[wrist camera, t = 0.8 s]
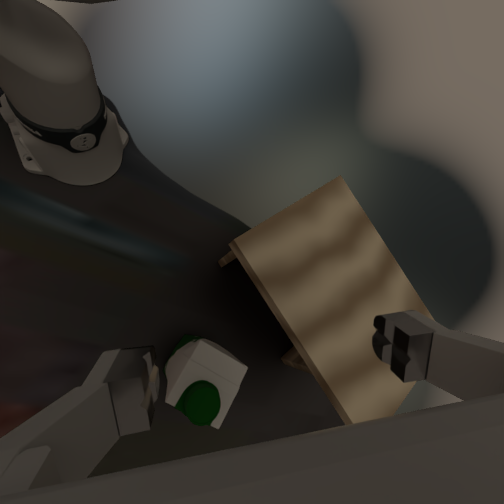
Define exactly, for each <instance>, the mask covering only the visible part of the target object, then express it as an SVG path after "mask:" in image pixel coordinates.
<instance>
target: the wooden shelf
mask: <svg viewBox="0 0 504 504" xmlns="http://www.w3.org/2000/svg"><path fill="white" fill-rule="evenodd" d="M228 245H229V246H230V248H231V249H232V250H231V251H230V252H229V253H228V254H226V255H225V256H224V257H223V258H221V259H220V260H219V261H218V263H219V264H220V266H221V267H223V266H225V265H226V264H228V263H229V262H231V261H232V260H234V259H235V258H238V260H239V261H240V263H241V265H242V266H243V268H244V269H245V271H246V272H247V274H248V275H249V277H250V278H251V280H252V281H253V283H254V285H255V286H256V288H257V289H258V291H259V292H260V294H261V295H262V297H263V298H264V300H265V301H266V303H267V305H268V306H269V308H270V309H271V311H272V312H273V314H274V315H275V317H276V318H277V320H278V321H279V323H280V325H281V326H282V328H283V329H284V331H285V332H286V334H287V335H288V337H289V338H290V340H291V341H292V343H293V345H294V346H293V347H292V348H291V349H290V350H289V351H288V352H287V353H285V354H284V355H283V356H282V357H281V360H282V361H283V363H284V364H286V365H288V366H291V367H294V368H297V369H299V370H302V371H305V372H308V373H310V374H313V375H314V377H315V378H316V380H317V381H318V383H319V385H320V386H321V388H322V389H323V391H324V392H325V394H326V395H327V397H328V398H329V400H330V401H331V403H332V404H333V406H334V408H335V409H336V411H337V412H338V414H339V415H340V417H341V418H342V420H343V421H344V423H345V424H346V425H349V424H354V423H359V422H363V421H368V420H373V419H378V418H383V417H388V416H393V415H394V413H395V412H396V410H397V409H398V407H399V406H400V404H401V403H402V402H403V400H404V399H405V397H406V396H407V395H408V393H409V392H410V390H411V389H412V387H413V386H414V384H415V383H416V382H417V381H413V382H407V383H403V382H402V381H401V380H400V379H399V378H398V377H397V376H396V375H395V374H394V373H393V372H392V371H391V370H390V365H389V364H387V363H384V362H382V361H381V360H380V359H379V358H378V357H377V356H376V354H375V352H374V350H373V346H372V336H373V335H374V333H375V332H376V329H375V328H374V326H373V323H374V318H375V316H377V315H383V314H390V313H396V312H401V311H407V310H416V311H418V312H420V313H421V314H423V315H425V316H426V317H428V318H430V319H432V320H433V321H434V319H433V317H432V316H431V314H430V313H429V311H428V310H427V308H426V307H425V305H424V304H423V302H422V301H421V299H420V298H419V296H418V294H417V293H416V291H415V290H414V288H413V287H412V285H411V283H410V282H409V280H408V279H407V277H406V276H405V274H404V273H403V271H402V269H401V268H400V266H399V265H398V263H397V262H396V260H395V259H394V257H393V256H392V254H391V252H390V251H389V249H388V248H387V246H386V245H385V243H384V242H383V240H382V239H381V237H380V235H379V234H378V232H377V231H376V229H375V228H374V226H373V225H372V223H371V222H370V220H369V219H368V217H367V215H366V214H365V212H364V211H363V209H362V208H361V206H360V204H359V203H358V201H357V200H356V198H355V197H354V195H353V194H352V192H351V191H350V189H349V188H348V186H347V184H346V183H345V181H344V180H343V178H342V177H341V175H340V176H338V177H337V178H335V179H334V180H332V181H330V182H328V183H327V184H325V185H323V186H322V187H320V188H318V189H317V190H315V191H314V192H312V193H310V194H309V195H307V196H305V197H304V198H302V199H300V200H299V201H297V202H295V203H294V204H292V205H290V206H289V207H287V208H285V209H284V210H282V211H281V212H279V213H277V214H275V215H274V216H272V217H270V218H269V219H267V220H265V221H264V222H262V223H260V224H259V225H257V226H255V227H254V228H252V229H250V230H249V231H247V232H246V233H244V234H242V235H241V236H239V237H237V238H236V239H234V240H233V241H232V242H231V243H229V244H228Z"/></svg>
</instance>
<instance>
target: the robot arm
mask: <svg viewBox="0 0 504 504" xmlns="http://www.w3.org/2000/svg"><path fill="white" fill-rule="evenodd" d="M57 1H68V2H79V3H88V4H94V3H101V2H109V1H116V0H57ZM0 87H1V89H2V90H3V91H4V94H3V95H2V96H1V97H0V102H1V105H2V107H0V113H1V115H2V117H3V118H4V120H5V121H6V122H7V123H8V125H9V128H10V130H11V133H12V136H13V139H14V141H15V144H16V147H17V150H18V153H19V155H20V158H21V161H22V164H23V166H24V168H25V169H26V170H27V171H28V172H30V173H34V174H40V175H47V176H50V177H53V178H55V179H57V180H59V181H61V182H64V183H68V184H72V185H93V184H97V183H100V182H103V181H105V180H107V179H108V178H110V177H111V176H112V175H114V174H115V172H116V171H117V170H118V168H119V167H120V164H121V161H122V153H123V149H124V148H125V146H126V145H127V143H128V141H129V137H128V134H127V133H126V132H125V131H124V130H123V129H122V128H121V126H120V125H119V124H118V122H117V119H116V116H115V114H114V113H113V112H111V111H110V110H109V108H108V107H107V106H106V104H105V100H104V98H103V96H102V93H101V91H100V89H99V87H98V86H97V83H96V78H95V74H94V69H93V65H92V61H91V56H90V53H89V51H88V49H87V46H86V45H85V43H84V41H83V40H82V38H81V37H80V36H79V35H78V33H77V32H76V31H75V30H74V29H73V28H72V26H71V25H70V24H69V23H68V22H67V21H66V20H65V19H64V18H62V17H61V16H60V15H59V14H58V13H56V12H55V11H54V10H52V9H51V8H49V7H47V6H46V5H44V4H42V3H40V2H38V1H37V0H0ZM29 159H32V160H31V161H28V160H29ZM373 326H374V328H375V329H376V332H375V333H374V335H373V336H372V346H373V350H374V352H375V354H376V356H377V357H378V358H379V359H380V360H381V361H382V362H384V363H387V364H389V365H390V370H391V371H392V372H393V373H394V374H395V375H396V376H397V377H398V378H399V379H400V380H401V381H402V382H403V383H407V382H413V381H420V380H426V381H428V382H429V383H431V384H433V385H435V386H437V387H439V388H441V389H443V390H445V391H447V392H449V393H450V394H452V395H454V396H456V397H458V398H460V399H462V400H464V401H462V402H456V403H452V404H447V405H442V406H437V407H432V408H427V409H422V410H417V411H413V412H408V413H402V414H398V415H393V416H388V417H383V418H378V419H373V420H368V421H363V422H359V423H354V424H349V425H344V426H339V427H334V428H330V429H325V430H320V431H315V432H310V433H306V434H301V435H296V436H291V437H286V438H281V439H276V440H271V441H266V442H262V443H257V444H252V445H247V446H242V447H237V448H232V449H227V450H222V451H218V452H213V453H208V454H203V455H198V456H193V457H188V458H183V459H179V460H174V461H169V462H164V463H159V464H154V465H149V466H144V467H139V468H135V469H130V470H125V471H120V472H115V473H110V474H105V475H100V476H95V477H91V478H87V476H88V475H89V474H90V473H91V472H92V470H93V469H94V468H95V467H96V465H97V464H98V463H99V462H100V461H101V459H102V458H103V457H104V456H105V455H106V453H107V452H108V451H109V450H110V449H111V447H112V446H113V445H114V444H115V443H116V441H117V440H118V439H119V436H123V435H127V434H132V433H137V432H141V431H146V430H150V429H151V424H152V420H153V416H154V411H155V409H154V402H155V401H156V400H157V398H158V393H159V370H158V367H156V366H155V365H154V363H155V360H156V352H155V347H154V346H153V345H151V346H142V347H133V348H125V349H116V350H109V351H105V352H103V353H102V354H101V356H100V357H99V359H98V361H97V362H96V364H95V365H94V367H93V369H92V370H91V372H90V373H89V375H88V377H87V378H86V380H85V381H84V383H83V385H82V386H81V387H76V388H74V389H73V390H71V391H70V392H68V393H67V394H65V395H64V396H62V397H61V398H59V399H58V400H56V401H55V402H53V403H52V404H50V405H49V406H48V407H46V408H45V409H43V410H42V411H40V412H39V413H37V414H36V415H34V416H33V417H31V418H30V419H28V420H27V421H25V422H24V423H22V424H21V425H20V426H18V427H17V428H15V429H14V430H12V431H11V432H9V433H8V434H6V435H5V436H3V437H2V438H0V504H504V343H502V342H498V341H495V340H491V339H487V338H483V337H480V336H476V335H472V334H468V333H464V332H461V331H457V330H449V329H447V328H445V327H444V326H442V325H440V324H438V323H437V322H435V321H433V320H432V319H430V318H428V317H426V316H425V315H423V314H421V313H420V312H418V311H416V310H407V311H401V312H396V313H390V314H383V315H377V316H375V318H374V323H373Z"/></svg>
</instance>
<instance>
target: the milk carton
mask: <svg viewBox="0 0 504 504" xmlns="http://www.w3.org/2000/svg"><path fill="white" fill-rule="evenodd" d="M247 369H248V367H247V366H246V365H244V364H243V363H242V362H241V361H239V360H238V359H237V358H236V357H235V356H233V355H232V354H231V353H230V352H228V351H227V350H226V349H224V348H223V347H221V346H220V345H218V344H216V343H214V342H212V341H210V340H207V339H205V338H203V337H200V336H193V335H186V334H185V335H184V336H183V338H182V339H181V340H180V342H179V343H178V344H177V346H176V347H175V349H174V351H173V352H172V354H171V356H170V357H169V359H168V361H167V362H166V364H165V367H164V369H163V372H164V374H165V376H166V378H167V381H168V384H167V392H166V400H165V402H166V403H168V404H170V405H172V406H174V408H175V409H177V410H179V411H181V412H182V413H183V414H184V415H185V416H187V417H188V418H189V420H190V421H191V422H192V423H193V424H195V425H199V426H203V425H209V426H210V425H211V426H213V427H215V428H217V429H219V428H220V426H221V424H222V422H223V420H224V418H225V416H226V414H227V412H228V410H229V408H230V406H231V404H232V402H233V399H234V397H235V396H236V394H237V392H238V390H239V388H240V387H239V386H240V383H241V381H242V379H243V377H244V375H245V373H246V371H247Z"/></svg>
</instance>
